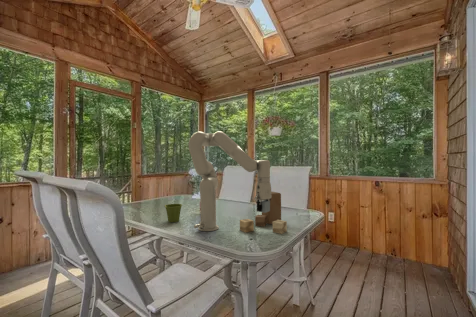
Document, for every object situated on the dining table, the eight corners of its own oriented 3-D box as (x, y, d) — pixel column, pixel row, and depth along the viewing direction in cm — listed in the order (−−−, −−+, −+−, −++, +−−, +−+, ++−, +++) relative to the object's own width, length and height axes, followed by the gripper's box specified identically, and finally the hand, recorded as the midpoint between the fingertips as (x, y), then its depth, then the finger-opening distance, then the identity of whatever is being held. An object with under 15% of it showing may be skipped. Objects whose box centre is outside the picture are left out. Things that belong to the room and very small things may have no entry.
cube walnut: (264, 226, 148) (264, 217, 148) (255, 226, 150) (255, 216, 150) (266, 224, 153) (266, 215, 153) (257, 223, 155) (257, 214, 155)
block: (281, 223, 156) (281, 192, 156) (269, 225, 151) (268, 194, 152) (273, 219, 165) (273, 191, 165) (261, 221, 160) (260, 192, 161)
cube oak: (245, 232, 136) (245, 222, 136) (239, 230, 141) (239, 220, 141) (253, 231, 139) (253, 220, 139) (248, 228, 144) (248, 218, 144)
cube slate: (265, 212, 137) (265, 202, 137) (256, 211, 140) (256, 201, 140) (269, 211, 142) (270, 201, 142) (261, 209, 145) (261, 200, 145)
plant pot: (161, 223, 159) (161, 206, 159) (171, 218, 170) (170, 203, 170) (176, 224, 156) (176, 207, 156) (185, 219, 167) (185, 204, 167)
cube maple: (281, 234, 133) (281, 223, 133) (272, 232, 136) (272, 221, 136) (286, 231, 137) (286, 221, 137) (277, 229, 141) (277, 219, 141)
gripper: (259, 181, 132) (259, 213, 132) (276, 180, 145) (276, 209, 145) (249, 180, 138) (249, 211, 137) (267, 179, 150) (266, 207, 150)
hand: (263, 209), depth 141 cm, fingers closed on cube slate, 6 cm apart
